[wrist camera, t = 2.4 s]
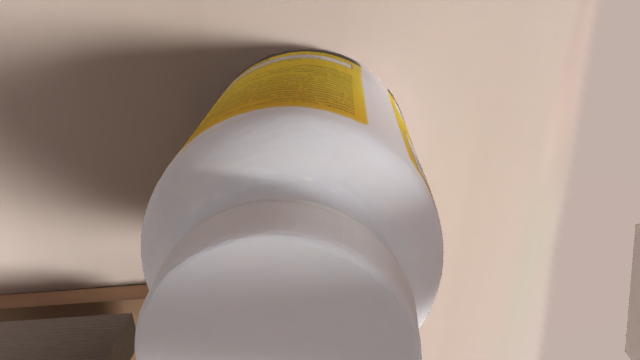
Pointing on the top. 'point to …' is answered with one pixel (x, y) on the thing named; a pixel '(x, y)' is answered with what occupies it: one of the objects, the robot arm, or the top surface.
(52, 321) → the sliding jaw
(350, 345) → the pill bottle
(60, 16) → the top surface
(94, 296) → the vise bed
